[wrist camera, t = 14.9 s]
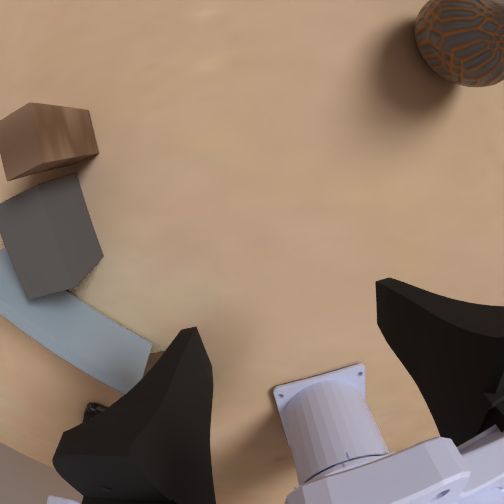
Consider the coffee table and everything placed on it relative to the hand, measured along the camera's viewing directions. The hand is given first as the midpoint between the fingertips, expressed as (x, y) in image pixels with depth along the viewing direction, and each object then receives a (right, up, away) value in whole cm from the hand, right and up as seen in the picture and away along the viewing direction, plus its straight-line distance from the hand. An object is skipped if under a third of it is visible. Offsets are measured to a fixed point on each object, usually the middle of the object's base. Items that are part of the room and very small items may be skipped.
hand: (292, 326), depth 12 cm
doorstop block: (-14, +5, +7) cm, 17 cm away
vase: (+12, +18, +5) cm, 22 cm away
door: (-15, -1, +9) cm, 18 cm away
